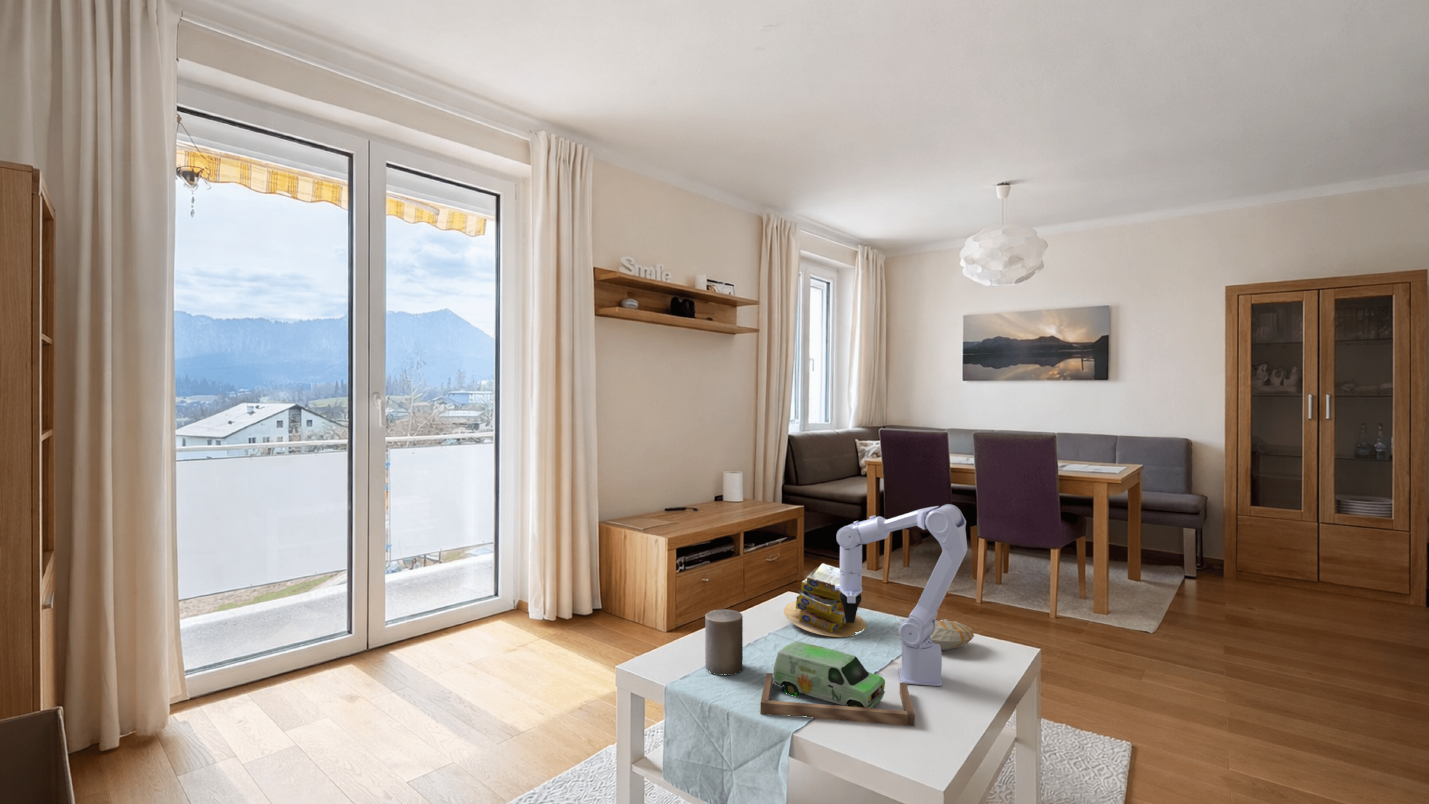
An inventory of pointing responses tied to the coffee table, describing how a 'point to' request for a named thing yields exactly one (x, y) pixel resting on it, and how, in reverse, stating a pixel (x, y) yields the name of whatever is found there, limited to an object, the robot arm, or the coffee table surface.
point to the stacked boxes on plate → (822, 605)
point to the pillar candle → (724, 641)
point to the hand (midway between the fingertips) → (850, 622)
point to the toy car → (826, 675)
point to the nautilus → (950, 634)
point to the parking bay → (839, 709)
